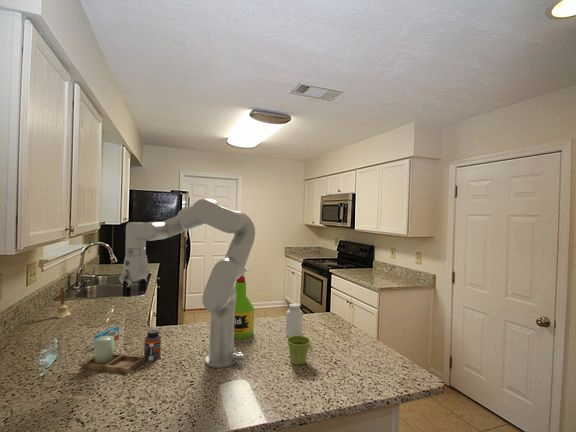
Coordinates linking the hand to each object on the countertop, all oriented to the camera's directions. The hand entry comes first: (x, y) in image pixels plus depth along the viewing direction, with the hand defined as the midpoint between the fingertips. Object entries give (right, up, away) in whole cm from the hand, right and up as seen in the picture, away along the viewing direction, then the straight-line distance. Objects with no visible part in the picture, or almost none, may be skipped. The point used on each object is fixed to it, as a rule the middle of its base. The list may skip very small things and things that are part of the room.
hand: (134, 293), depth 128 cm
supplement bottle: (+9, -25, -5) cm, 27 cm away
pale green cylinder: (-7, -24, -10) cm, 27 cm away
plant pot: (+67, -27, -4) cm, 72 cm away
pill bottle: (+66, -27, +24) cm, 75 cm away
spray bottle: (+37, -26, +26) cm, 52 cm away
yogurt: (-17, -25, +9) cm, 31 cm away
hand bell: (-63, -24, +46) cm, 82 cm away
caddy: (-2, -25, -11) cm, 27 cm away
